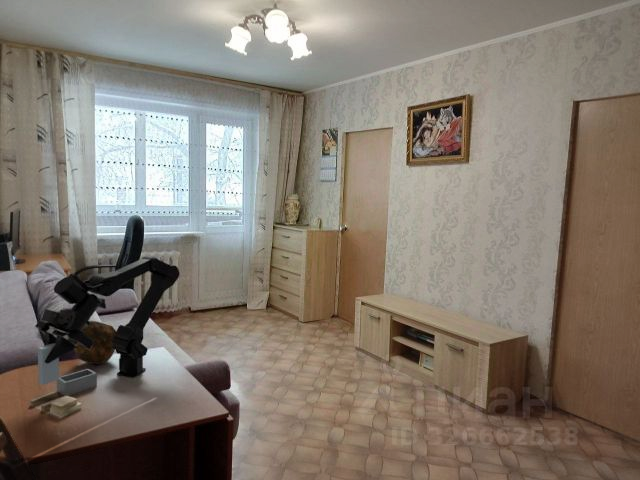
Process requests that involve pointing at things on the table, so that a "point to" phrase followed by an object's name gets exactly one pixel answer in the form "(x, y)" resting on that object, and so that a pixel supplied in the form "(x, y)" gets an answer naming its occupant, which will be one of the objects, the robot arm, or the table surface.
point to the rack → (56, 405)
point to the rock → (97, 343)
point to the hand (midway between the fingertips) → (43, 361)
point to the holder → (76, 382)
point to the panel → (47, 366)
